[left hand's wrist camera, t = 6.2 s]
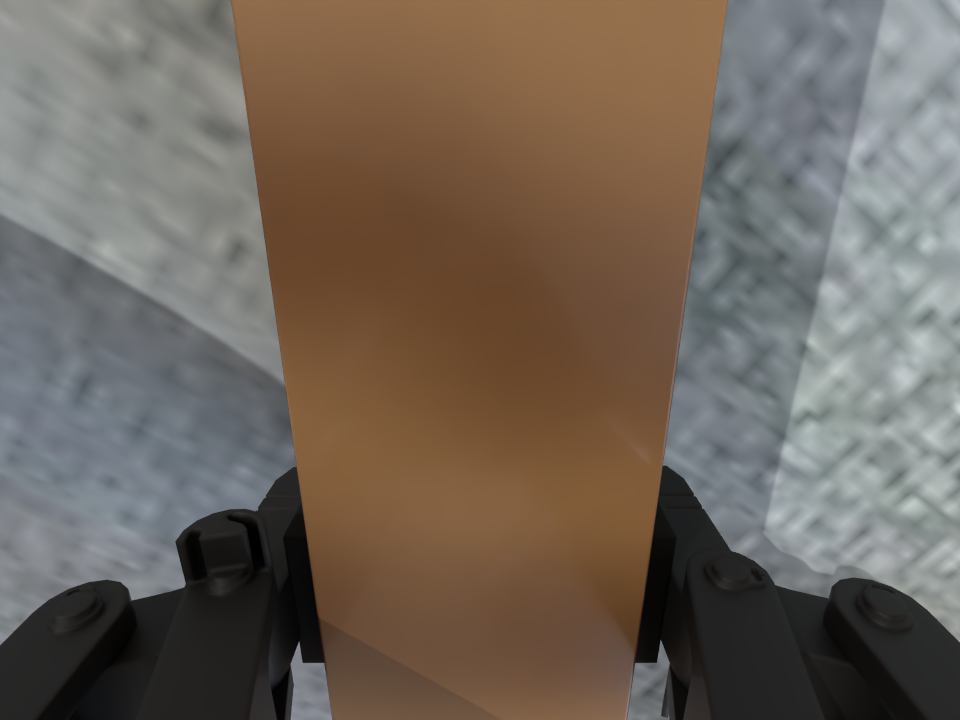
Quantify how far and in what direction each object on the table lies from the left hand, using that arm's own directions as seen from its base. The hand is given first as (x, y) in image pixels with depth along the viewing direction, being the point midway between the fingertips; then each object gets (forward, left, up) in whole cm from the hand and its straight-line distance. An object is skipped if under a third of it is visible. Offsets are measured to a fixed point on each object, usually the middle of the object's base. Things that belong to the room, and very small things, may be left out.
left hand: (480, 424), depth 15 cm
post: (+3, +25, -1) cm, 25 cm away
